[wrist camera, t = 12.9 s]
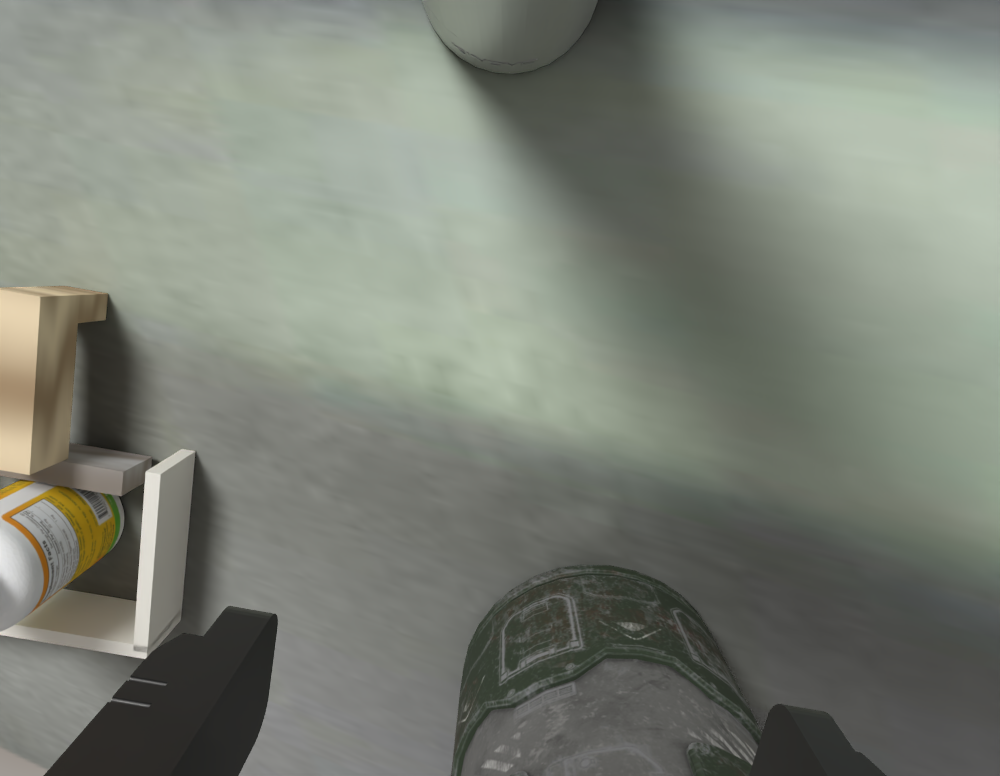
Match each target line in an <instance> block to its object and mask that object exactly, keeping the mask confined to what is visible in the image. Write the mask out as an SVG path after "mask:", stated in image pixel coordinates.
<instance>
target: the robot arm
mask: <svg viewBox="0 0 1000 776" xmlns="http://www.w3.org/2000/svg"><path fill="white" fill-rule="evenodd" d="M597 2H598V0H422V3H423V6H424V9H425V11H426V13H427V16H428V18H429V20H430V22H431V24H432V27H433V28H434V30H435V31H436V33H437V34H438V35H439V37H440V38H441V39H442V41H443V42H444V44H445V45H446V46H447V47H449V48H450V49H451V50H452V51H453V52H454V53H455V54H456V55H457V56H458V57H460V58H461V59H463V60H465V61H467V62H468V63H470V64H472V65H473V66H475V67H478V68H481V69H484V70H487V71H491V72H494V73H507V74H515V73H522V72H529V71H533V70H535V69H538V68H540V67H543V66H545V65H548V64H550V63H551V62H553V61H554V60H556V59H557V58H559V57H560V56H562V55H563V54H565V53H566V52H567V51H568V50H569V49H570V48H571V47H572V46H573V45H574V43H575V42H576V41H577V40H578V39H579V38H580V36H581V35H582V33H583V32H584V30H585V29H586V27H587V25H588V24H589V22H590V20H591V18H592V15H593V12H594V10H595V7H596V5H597ZM277 625H278V619H277V615H276V614H272V613H267V612H261V611H255V610H250V609H244V608H238V607H233V606H228V607H227V608H226V609H225V610H224V611H223V612H222V613H221V615H220V616H219V617H218V619H217V620H216V621H215V622H214V624H213V625H212V626H211V628H210V629H209V630H208V631H207V633H206V634H205V635H204V637H203V636H197V635H192V634H186V633H183V634H181V635H180V636H178V637H176V638H174V639H173V640H171V641H169V642H167V643H166V644H164V645H162V646H161V647H159V648H157V649H155V650H154V651H152V652H151V653H150V654H149V656H148V657H147V658H146V659H145V660H144V661H143V662H142V664H141V665H140V666H139V667H138V668H137V669H136V670H135V672H134V673H133V674H132V675H131V677H130V680H129V681H126V682H125V683H124V684H123V685H122V686H121V688H120V689H119V690H118V691H117V692H116V693H115V695H114V696H113V698H112V700H111V702H108V703H107V704H106V705H105V706H104V707H103V708H102V709H101V711H100V712H99V713H98V714H97V715H96V716H95V717H94V719H93V720H92V721H91V722H90V723H89V724H88V725H87V727H86V728H85V729H84V730H83V731H82V732H81V734H80V735H79V736H78V737H77V738H76V739H75V740H74V742H73V743H72V744H71V745H70V746H69V747H68V748H67V750H66V751H65V752H64V753H63V754H62V755H61V756H60V758H59V759H58V760H57V761H56V762H55V763H54V764H53V766H52V767H51V768H50V769H49V770H48V771H47V773H46V774H45V775H44V776H238V775H239V773H240V771H241V769H242V767H243V765H244V763H245V761H246V759H247V757H248V755H249V753H250V751H251V749H252V748H253V746H254V743H255V741H256V739H257V737H258V734H259V731H260V728H261V725H262V722H263V719H264V715H265V712H266V707H267V702H268V696H269V689H270V681H271V673H272V665H273V657H274V650H275V642H276V634H277ZM749 776H886V775H885V774H884V773H883V772H882V771H881V770H880V769H879V768H877V767H876V766H875V765H874V764H873V763H872V762H871V761H870V760H869V759H867V758H866V757H865V756H864V755H863V754H862V753H860V752H855V751H854V749H853V748H852V746H851V745H850V743H849V742H848V740H847V739H846V737H845V736H844V734H843V733H842V732H841V730H840V729H839V727H838V726H837V724H836V723H835V721H834V720H833V718H832V717H831V716H830V715H829V714H828V713H826V712H822V711H816V710H811V709H805V708H799V707H794V706H788V705H782V704H777V705H775V706H773V708H772V709H771V710H770V712H769V714H768V717H767V720H766V723H765V727H764V730H763V733H762V736H761V739H760V742H759V745H758V749H757V752H756V755H755V758H754V761H753V764H752V767H751V771H750V774H749Z"/></svg>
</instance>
